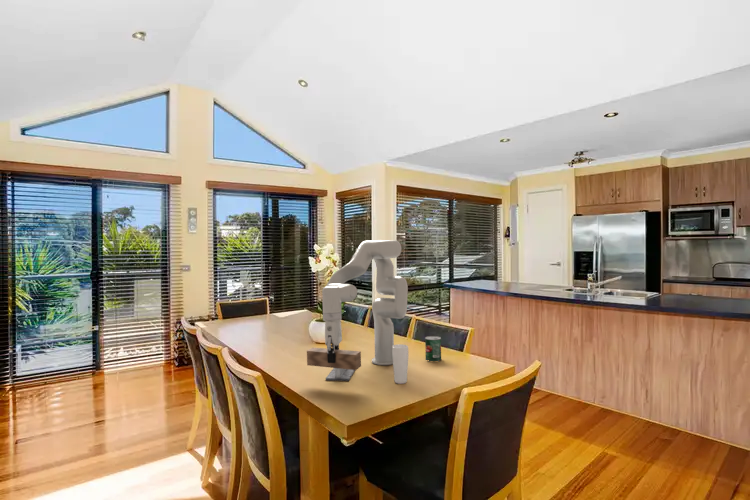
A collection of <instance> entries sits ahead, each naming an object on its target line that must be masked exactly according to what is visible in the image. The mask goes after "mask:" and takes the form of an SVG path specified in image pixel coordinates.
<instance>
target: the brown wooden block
mask: <svg viewBox="0 0 750 500" xmlns="http://www.w3.org/2000/svg"><path fill="white" fill-rule="evenodd" d="M335 355H336V362H335V363H328V358H327V348H323V347H322V348H321V347H311V348H309V349H307V350H306V364H307V365H306V366H312V367H319V368H320V367H322V368H323V367H324V368H332V369H333V368H340V369H350V370H355V371H358V370H359V368H361V367H362V352H361V351H360V350H359V351H358V350H347V349H339V350H337V349H335Z"/></svg>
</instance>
